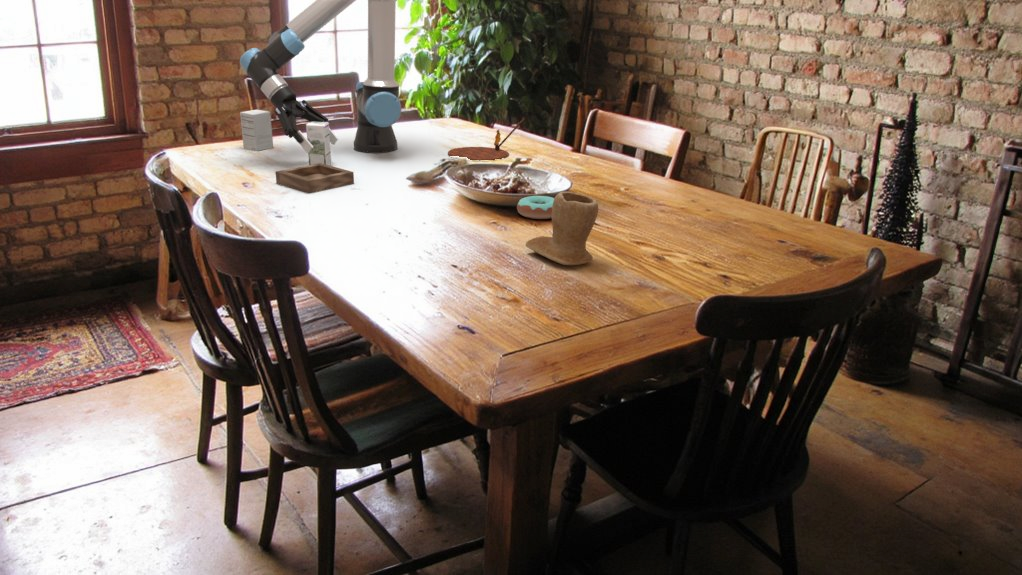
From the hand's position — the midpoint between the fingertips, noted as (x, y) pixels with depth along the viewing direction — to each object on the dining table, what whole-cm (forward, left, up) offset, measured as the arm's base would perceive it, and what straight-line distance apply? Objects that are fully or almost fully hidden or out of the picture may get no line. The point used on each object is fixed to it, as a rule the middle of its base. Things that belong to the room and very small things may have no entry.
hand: (323, 146), depth 262 cm
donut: (-11, +79, -8) cm, 80 cm away
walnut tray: (+12, +12, -7) cm, 19 cm away
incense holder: (-56, +18, -8) cm, 59 cm away
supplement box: (-3, -42, -8) cm, 42 cm away
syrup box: (0, -2, -8) cm, 8 cm away
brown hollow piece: (+12, +106, -8) cm, 107 cm away
